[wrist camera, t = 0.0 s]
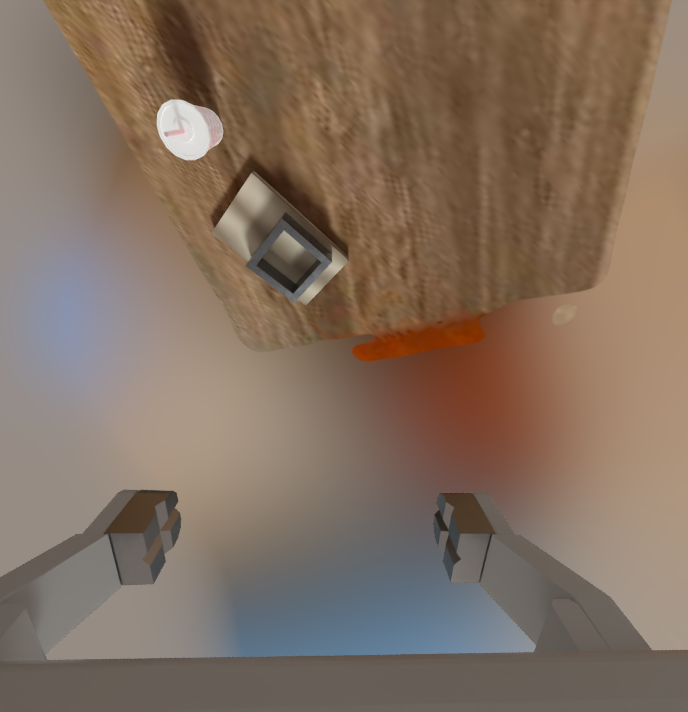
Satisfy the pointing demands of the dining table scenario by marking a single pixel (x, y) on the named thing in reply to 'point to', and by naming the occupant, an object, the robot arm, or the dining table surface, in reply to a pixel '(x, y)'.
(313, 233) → the socket board
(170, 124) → the beverage cup
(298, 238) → the cup collar
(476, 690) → the robot arm
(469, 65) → the dining table surface
